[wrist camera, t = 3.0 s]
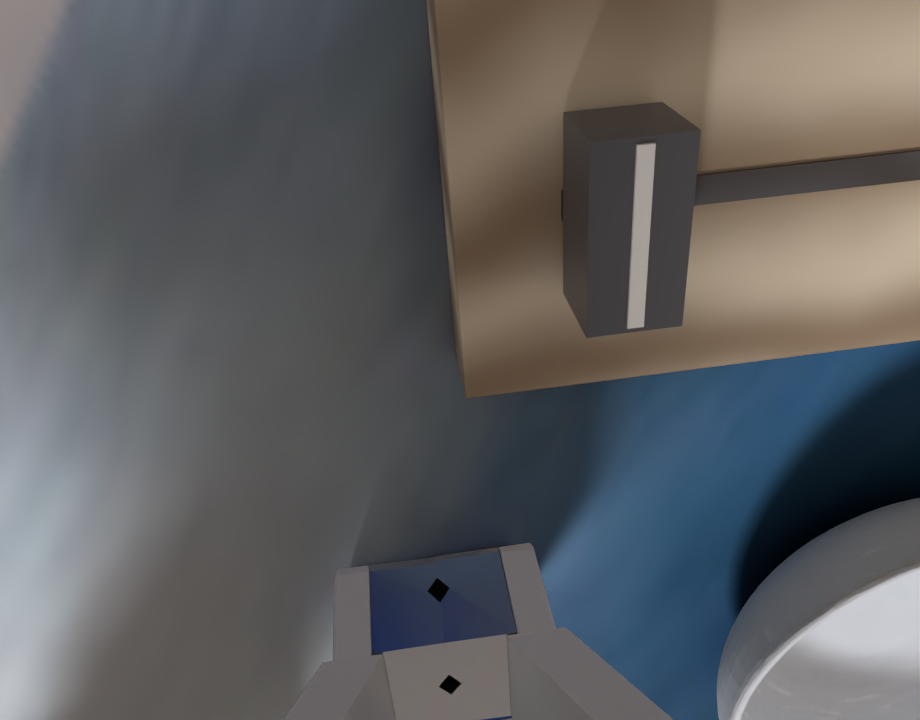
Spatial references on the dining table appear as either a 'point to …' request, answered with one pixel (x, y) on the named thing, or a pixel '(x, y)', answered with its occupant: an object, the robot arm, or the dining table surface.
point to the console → (717, 183)
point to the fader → (627, 216)
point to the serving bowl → (832, 628)
